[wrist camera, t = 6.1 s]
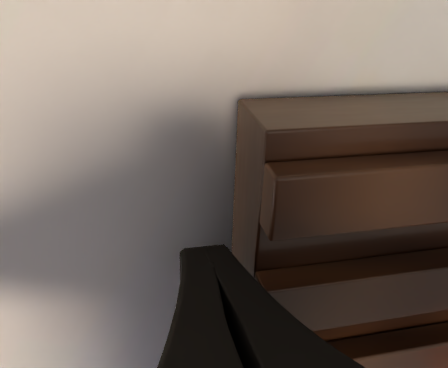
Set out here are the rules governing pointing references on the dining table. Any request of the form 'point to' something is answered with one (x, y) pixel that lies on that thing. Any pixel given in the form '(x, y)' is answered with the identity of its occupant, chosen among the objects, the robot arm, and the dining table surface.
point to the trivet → (350, 219)
